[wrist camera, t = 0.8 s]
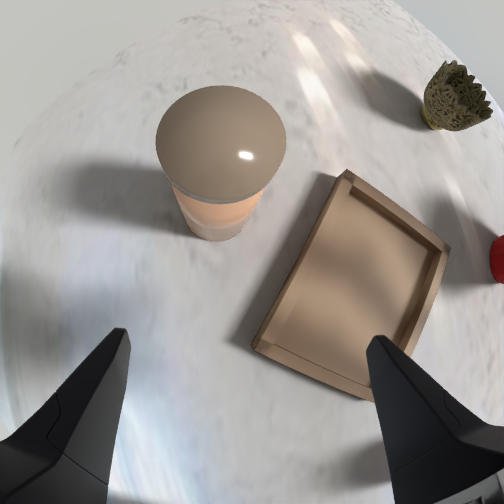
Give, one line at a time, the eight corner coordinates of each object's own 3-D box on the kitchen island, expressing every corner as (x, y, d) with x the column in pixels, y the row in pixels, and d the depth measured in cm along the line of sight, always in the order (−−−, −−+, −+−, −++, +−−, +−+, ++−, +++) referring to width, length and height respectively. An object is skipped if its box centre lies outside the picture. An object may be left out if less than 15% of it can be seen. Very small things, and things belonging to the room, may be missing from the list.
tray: (373, 399, 23) (384, 406, 21) (250, 344, 22) (254, 350, 20) (438, 249, 26) (450, 247, 24) (337, 177, 25) (346, 169, 23)
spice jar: (229, 255, 23) (246, 222, 11) (169, 221, 23) (130, 158, 11) (262, 197, 24) (306, 120, 12) (205, 166, 23) (202, 70, 12)
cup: (427, 151, 27) (474, 121, 19) (395, 96, 27) (432, 58, 19) (459, 141, 28) (500, 115, 20) (430, 91, 29) (465, 60, 21)
